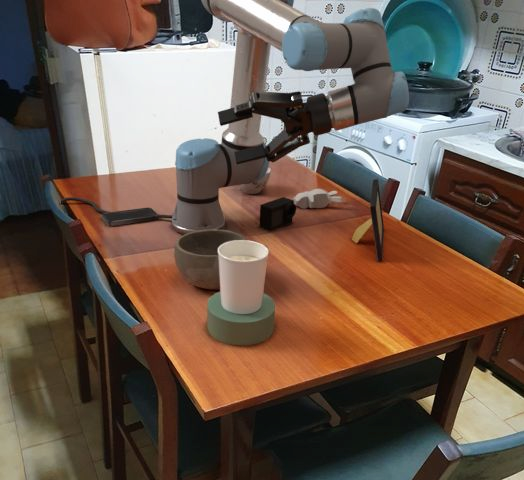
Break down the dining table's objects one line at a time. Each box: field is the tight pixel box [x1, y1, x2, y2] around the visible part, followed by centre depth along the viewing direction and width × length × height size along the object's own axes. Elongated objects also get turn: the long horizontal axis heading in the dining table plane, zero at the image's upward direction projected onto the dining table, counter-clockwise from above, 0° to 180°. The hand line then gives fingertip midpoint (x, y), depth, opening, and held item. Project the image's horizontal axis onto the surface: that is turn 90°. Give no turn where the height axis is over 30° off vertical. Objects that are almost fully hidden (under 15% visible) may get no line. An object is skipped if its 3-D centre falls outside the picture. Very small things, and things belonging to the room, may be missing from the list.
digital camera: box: [258, 196, 297, 232], centre depth 160 cm, size 10×5×7 cm, turn 138°
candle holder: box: [218, 239, 270, 314], centre depth 108 cm, size 10×10×12 cm
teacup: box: [237, 167, 272, 195], centre depth 185 cm, size 15×12×8 cm
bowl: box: [173, 229, 248, 290], centre depth 129 cm, size 17×18×10 cm
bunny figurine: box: [292, 188, 344, 210], centre depth 176 cm, size 10×5×15 cm
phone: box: [101, 207, 159, 227], centre depth 160 cm, size 8×1×15 cm
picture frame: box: [351, 178, 385, 262], centre depth 151 cm, size 23×9×15 cm, turn 168°
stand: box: [206, 291, 276, 347], centre depth 113 cm, size 14×14×6 cm
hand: (227, 139), depth 113 cm, fingers open, 13 cm apart
